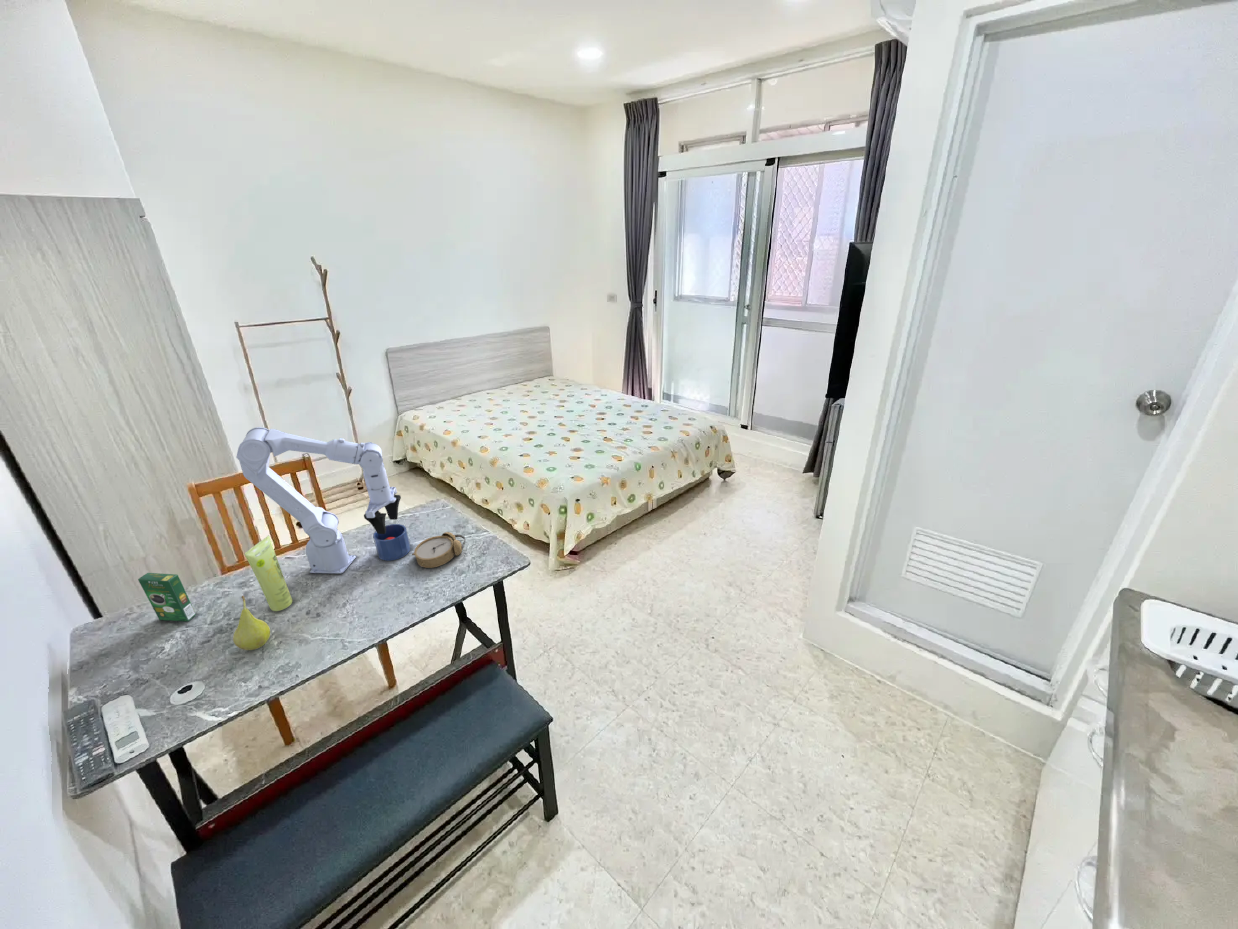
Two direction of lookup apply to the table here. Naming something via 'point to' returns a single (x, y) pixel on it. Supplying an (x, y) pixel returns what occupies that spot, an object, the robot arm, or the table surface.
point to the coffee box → (167, 596)
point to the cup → (392, 542)
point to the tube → (269, 574)
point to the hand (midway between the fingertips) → (387, 526)
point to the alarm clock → (438, 550)
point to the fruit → (250, 631)
